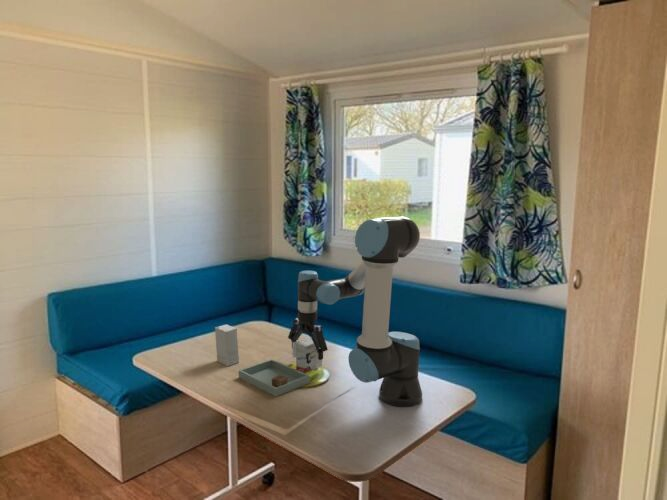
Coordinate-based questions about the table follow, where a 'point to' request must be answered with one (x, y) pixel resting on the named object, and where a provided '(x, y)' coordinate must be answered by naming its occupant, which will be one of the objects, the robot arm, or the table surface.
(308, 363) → the ink box
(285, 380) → the walnut block
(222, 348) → the skincare box
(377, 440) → the table surface
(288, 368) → the tray
